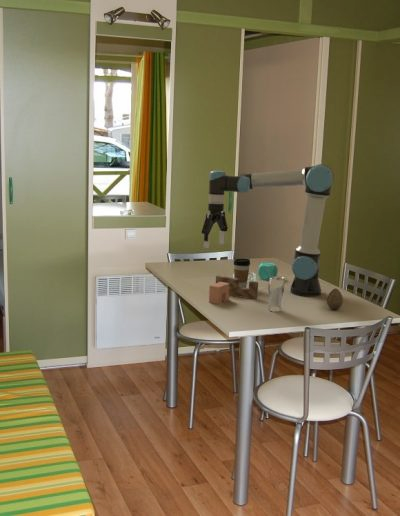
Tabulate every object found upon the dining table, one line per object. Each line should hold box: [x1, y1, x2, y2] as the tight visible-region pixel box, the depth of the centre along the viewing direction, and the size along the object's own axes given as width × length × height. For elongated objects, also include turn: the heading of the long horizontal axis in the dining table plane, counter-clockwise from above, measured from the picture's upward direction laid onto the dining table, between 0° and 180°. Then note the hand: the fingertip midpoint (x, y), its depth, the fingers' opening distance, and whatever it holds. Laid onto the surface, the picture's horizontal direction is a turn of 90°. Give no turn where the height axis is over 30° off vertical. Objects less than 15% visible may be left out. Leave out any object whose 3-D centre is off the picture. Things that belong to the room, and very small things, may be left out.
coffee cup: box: [233, 258, 251, 288], centre depth 348 cm, size 8×8×15 cm
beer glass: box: [267, 276, 285, 313], centre depth 309 cm, size 7×7×15 cm
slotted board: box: [215, 274, 259, 300], centre depth 335 cm, size 22×2×8 cm, turn 59°
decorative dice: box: [257, 262, 279, 281], centre depth 373 cm, size 8×8×8 cm
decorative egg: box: [326, 288, 344, 311], centre depth 315 cm, size 7×7×10 cm
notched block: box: [208, 282, 230, 305], centre depth 323 cm, size 10×5×8 cm, turn 149°
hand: (214, 245), depth 339 cm, fingers open, 13 cm apart
